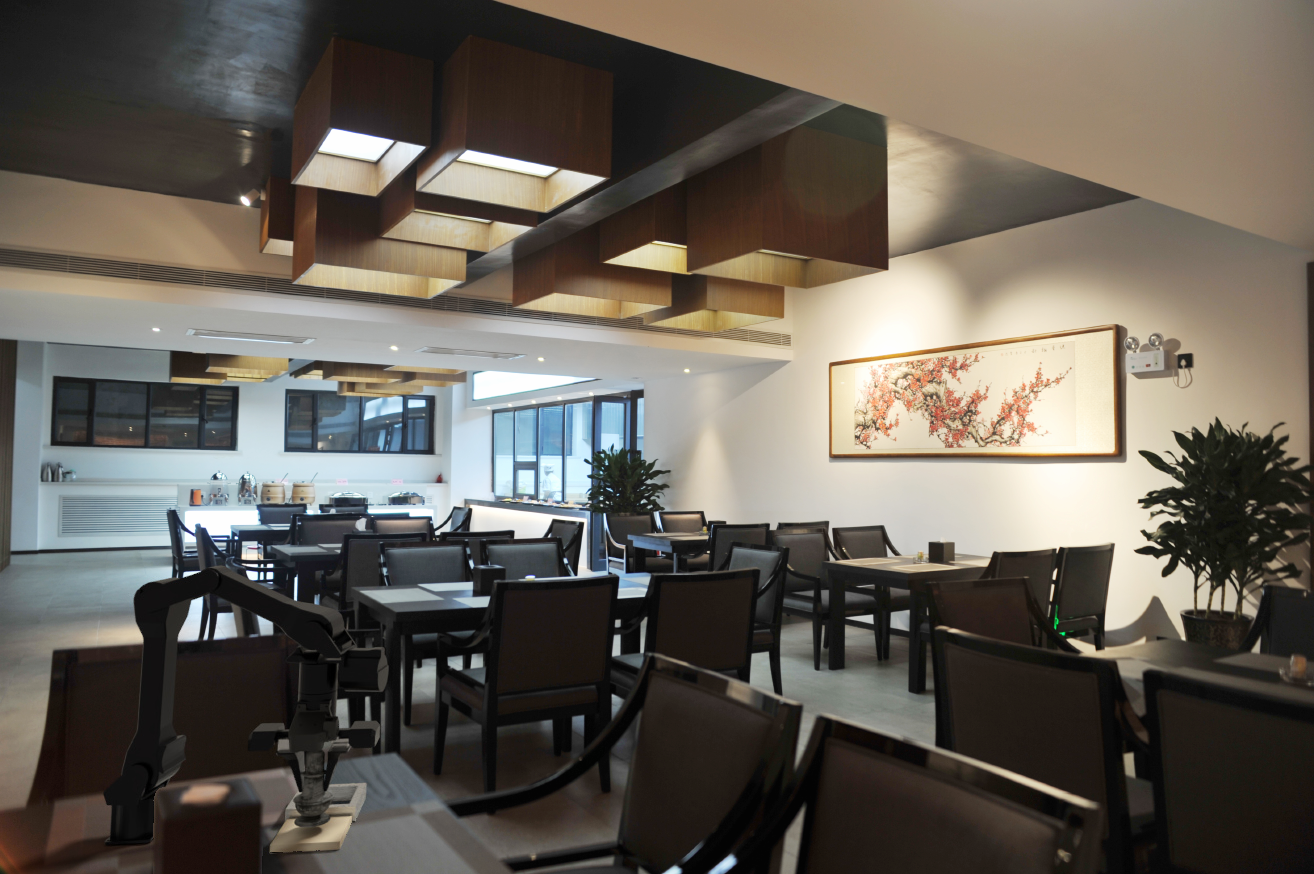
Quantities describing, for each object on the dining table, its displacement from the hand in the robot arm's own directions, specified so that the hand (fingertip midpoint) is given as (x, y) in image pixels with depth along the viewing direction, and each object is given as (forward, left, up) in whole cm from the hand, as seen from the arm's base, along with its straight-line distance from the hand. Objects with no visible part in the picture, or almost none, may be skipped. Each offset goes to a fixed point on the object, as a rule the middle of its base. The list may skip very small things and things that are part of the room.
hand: (313, 790), depth 134 cm
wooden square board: (0, 0, -7) cm, 7 cm away
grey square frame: (0, +11, -7) cm, 13 cm away
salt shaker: (0, 0, -5) cm, 5 cm away
